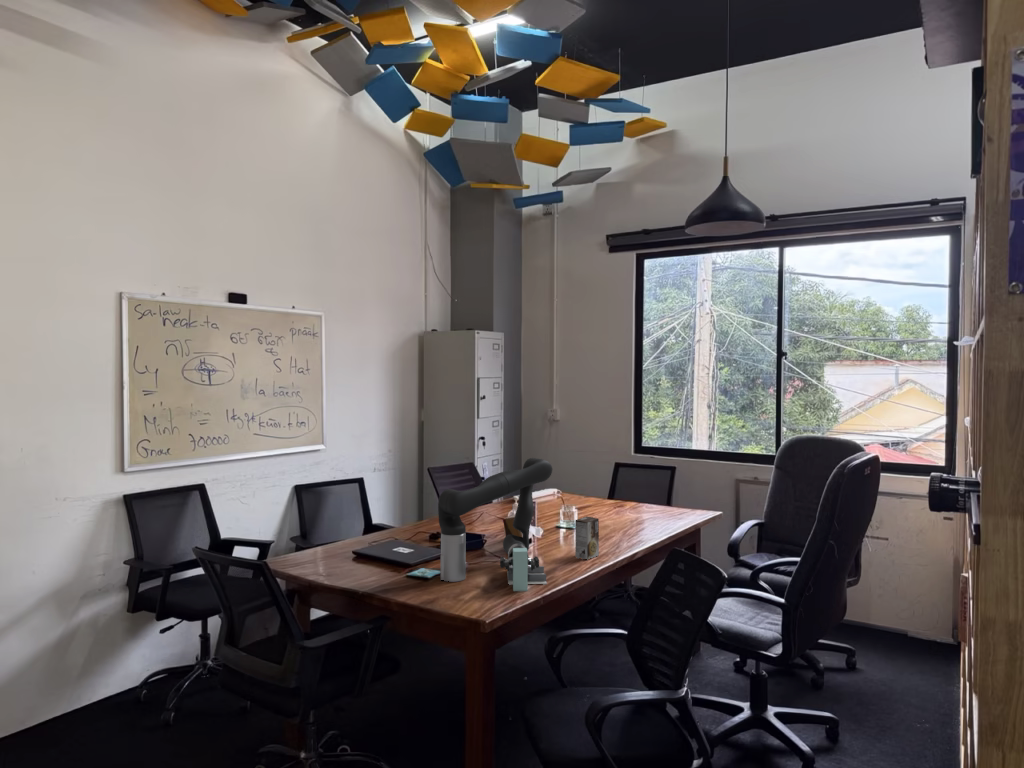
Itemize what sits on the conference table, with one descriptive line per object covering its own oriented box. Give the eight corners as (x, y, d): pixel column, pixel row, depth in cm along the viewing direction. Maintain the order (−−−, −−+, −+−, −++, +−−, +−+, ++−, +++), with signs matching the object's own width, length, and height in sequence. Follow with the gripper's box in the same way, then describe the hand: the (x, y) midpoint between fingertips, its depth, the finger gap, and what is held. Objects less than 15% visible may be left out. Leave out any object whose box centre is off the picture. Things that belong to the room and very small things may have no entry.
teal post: (513, 591, 234) (513, 551, 234) (512, 586, 239) (512, 548, 239) (527, 590, 234) (527, 551, 234) (526, 586, 239) (526, 547, 239)
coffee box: (586, 553, 284) (586, 516, 284) (599, 556, 280) (599, 518, 280) (574, 557, 277) (574, 519, 277) (587, 560, 273) (587, 521, 273)
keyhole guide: (508, 584, 241) (508, 576, 241) (507, 572, 256) (507, 565, 256) (546, 584, 241) (546, 576, 241) (543, 572, 256) (543, 564, 256)
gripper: (499, 545, 250) (500, 557, 234) (536, 545, 251) (540, 557, 235) (499, 565, 250) (500, 578, 234) (536, 565, 251) (540, 578, 235)
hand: (520, 567), depth 234 cm, fingers open, 8 cm apart
